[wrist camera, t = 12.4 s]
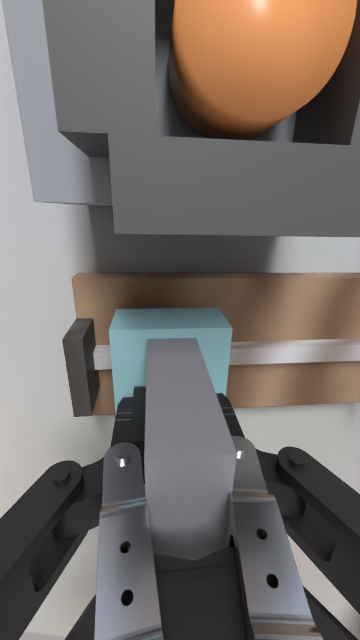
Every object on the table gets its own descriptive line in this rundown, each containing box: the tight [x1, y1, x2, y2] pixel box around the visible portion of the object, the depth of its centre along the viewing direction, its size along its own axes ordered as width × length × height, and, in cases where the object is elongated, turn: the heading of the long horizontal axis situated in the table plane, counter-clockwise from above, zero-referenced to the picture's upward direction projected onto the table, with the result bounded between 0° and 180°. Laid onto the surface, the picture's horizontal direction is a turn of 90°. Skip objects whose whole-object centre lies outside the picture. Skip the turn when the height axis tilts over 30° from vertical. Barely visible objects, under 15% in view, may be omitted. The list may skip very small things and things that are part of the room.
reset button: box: [168, 0, 357, 140], centre depth 6 cm, size 4×4×2 cm
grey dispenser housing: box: [2, 0, 360, 237], centre depth 10 cm, size 12×8×11 cm
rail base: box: [62, 273, 360, 417], centre depth 18 cm, size 22×10×4 cm, turn 89°
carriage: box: [109, 308, 237, 560], centre depth 13 cm, size 6×7×10 cm
